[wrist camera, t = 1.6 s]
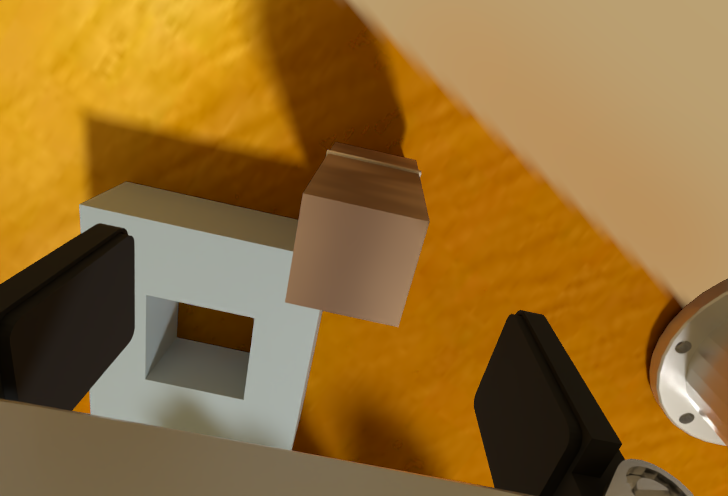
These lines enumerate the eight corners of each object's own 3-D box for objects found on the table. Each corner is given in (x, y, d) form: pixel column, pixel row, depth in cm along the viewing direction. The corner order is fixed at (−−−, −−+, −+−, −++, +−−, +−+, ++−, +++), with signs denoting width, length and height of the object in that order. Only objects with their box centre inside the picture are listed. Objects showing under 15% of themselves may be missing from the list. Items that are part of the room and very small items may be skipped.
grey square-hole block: (339, 229, 25) (330, 259, 21) (301, 413, 30) (288, 462, 27) (126, 181, 24) (79, 204, 21) (127, 377, 30) (91, 422, 26)
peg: (416, 152, 23) (432, 219, 14) (396, 225, 25) (399, 329, 15) (337, 134, 23) (300, 190, 14) (323, 209, 24) (282, 303, 15)
